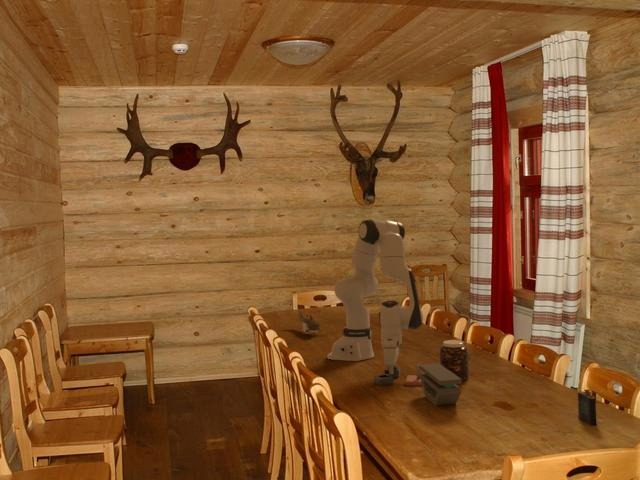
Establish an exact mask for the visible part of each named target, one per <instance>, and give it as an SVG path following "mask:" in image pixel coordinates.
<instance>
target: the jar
mask: <svg viewBox="0 0 640 480" xmlns="http://www.w3.org/2000/svg"><path fill="white" fill-rule="evenodd" d="M468 350H469V349H468V347H467V346H466V345H464V341H462V340H458V339H449V340H444V341H443V343H442V345H441V346H439V364H441V365H442V366H443V367H445V368H446V369H448V370H449V371H451V372H452V373H453V374H455V375H456V376H458V377H459V378H461V381H462V382H464V381H467V380H469V378H470V377H469V376H470V375H469V373H470V372H469V368H470V367H469V366H470V365H469V359H468V354H469V351H468Z"/></svg>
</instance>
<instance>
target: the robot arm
mask: <svg viewBox="0 0 640 480" xmlns="http://www.w3.org/2000/svg"><path fill="white" fill-rule="evenodd" d="M405 229H406V228H405V226H404V225H403V224H402V223H401V222H399V221H396V220H388V219H364V220H363V221H361V222H360V224H359V226H358V229H357V230H358V238H357V240H356V242H355V247H354V251H353V254H352V259H351V265H352V266H353V268H354V269H355V270H354V275H353V276H348V277H343V278H342V279H339V280H338V281H336V282H335V284H334V288H333V289H334V294H335V297H336V298H337V299H338V300H340V301H341V303H342V305H343V307H344V311H345V319H346V320H345V321H346V326H344V327H343V329H342V336H341V337H340V338H339V339H337V340H336V341H335V342H334V343H333V345H332V347H331V352H329V353H328V354H327V356H326V358H327V359H328V360H329V359H331V361H332V360H334V361H349V362H359V361H364V360H369V359H372V358H375V353H374V350H373V345H372V327H371V324H370V323H371V322H370V310H369V309H368V308H367V307H365V306H364V303H363V299H364V298H369V297H371V296H372V295H374V294H376V293H377V292H378V291H379V280H378V279H377V278H376V276H375V266H376V262H377V258H378V254H379V264H380V265H379V266H380V270H381V272H382V273H383V274H384V275H385V276H387V278H390V279H393V280H395V281H398V282H401V283H402V284H403V285H405V287H406V289H407V294H408V298H409V305H401V306H400V303H399V302H398V301H396V300H386V301H383V302H382V303H381V306H380V311H379V313H378V321H379V325H380V326H381V330H380V341H381V348H382V349H383V359H384V360H383V362H384V365H385V366H386V367H389V374H394V367H397V360H398V358H399V355H400V349H399V348H400V345H402V344H403V336H402V335H403V334H402V333H403V332H402V329H408V330H417V329H419V328H420V327H421V326H423V323H424V313H423V311H422V308H421V304H420V299H419V294H418V288H417V283H416V280H415V279H416V278H415V275H414V272H413V270H412V269H411V268H409V267H408V265H407V263H406V252H405V244H404V238H405V234H406V230H405Z"/></svg>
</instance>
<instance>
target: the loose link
mask: <svg viewBox="0 0 640 480" xmlns="http://www.w3.org/2000/svg"><path fill="white" fill-rule="evenodd" d="M373 379H374V381H373V382H374V384H375V385H377V386H379V387H384V386H390V385H391V386H392V385H394V377H392V376H390V375H389V374H385V373H383V374H376V375H373Z"/></svg>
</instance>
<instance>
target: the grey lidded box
mask: <svg viewBox="0 0 640 480" xmlns="http://www.w3.org/2000/svg"><path fill="white" fill-rule="evenodd" d="M418 365H419V369H420V370H421V372H423V373H421V374H420V376H421V383H422V386H421V387H422V391H423V394H424V396H425V397H424V398H425V399H427V400H428V401H429V402H430V403H432V405H434V406H435V407H437V406H446V405H456V404H457V402H458V400H459V398H460V396H461V394H462V392H461V391H462V388H461V387H460V384H462V382H463V381H461V378H459V377H458V376H456V375H455V374H453V373H452V372H451V371H449V370H448V369H446V368H445V367H443V366H442V365H441V364H440V362H437V363H427V364H426V363H424V364H418ZM458 384H459V385H458Z"/></svg>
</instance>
